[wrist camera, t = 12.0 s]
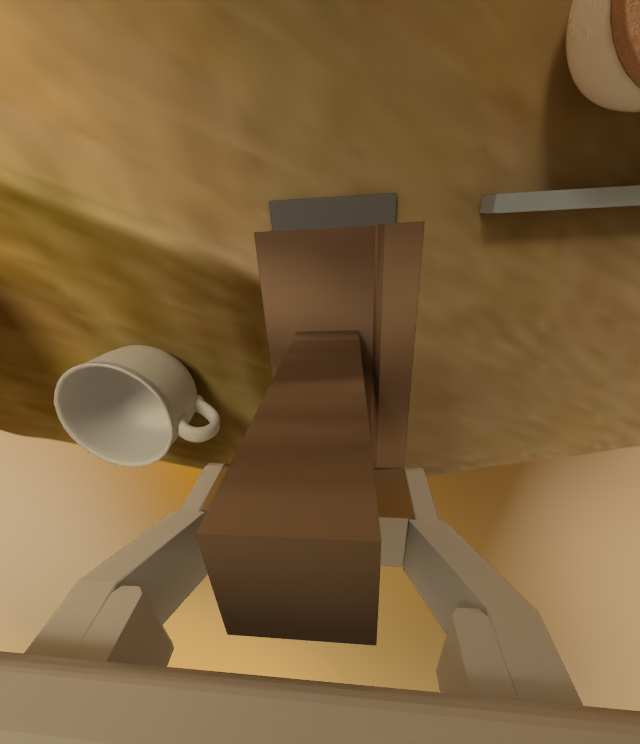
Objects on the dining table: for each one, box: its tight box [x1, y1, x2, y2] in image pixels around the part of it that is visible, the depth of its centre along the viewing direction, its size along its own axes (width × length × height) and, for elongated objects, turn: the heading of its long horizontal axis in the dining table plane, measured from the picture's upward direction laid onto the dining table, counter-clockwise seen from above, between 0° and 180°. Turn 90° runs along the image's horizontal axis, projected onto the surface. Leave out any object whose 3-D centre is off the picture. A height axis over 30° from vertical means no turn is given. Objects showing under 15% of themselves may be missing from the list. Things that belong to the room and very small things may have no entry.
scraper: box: [195, 222, 424, 645], centre depth 11 cm, size 12×6×12 cm, turn 3°
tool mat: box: [269, 193, 397, 231], centre depth 28 cm, size 16×10×1 cm, turn 3°
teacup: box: [54, 345, 220, 467], centre depth 30 cm, size 14×11×8 cm
